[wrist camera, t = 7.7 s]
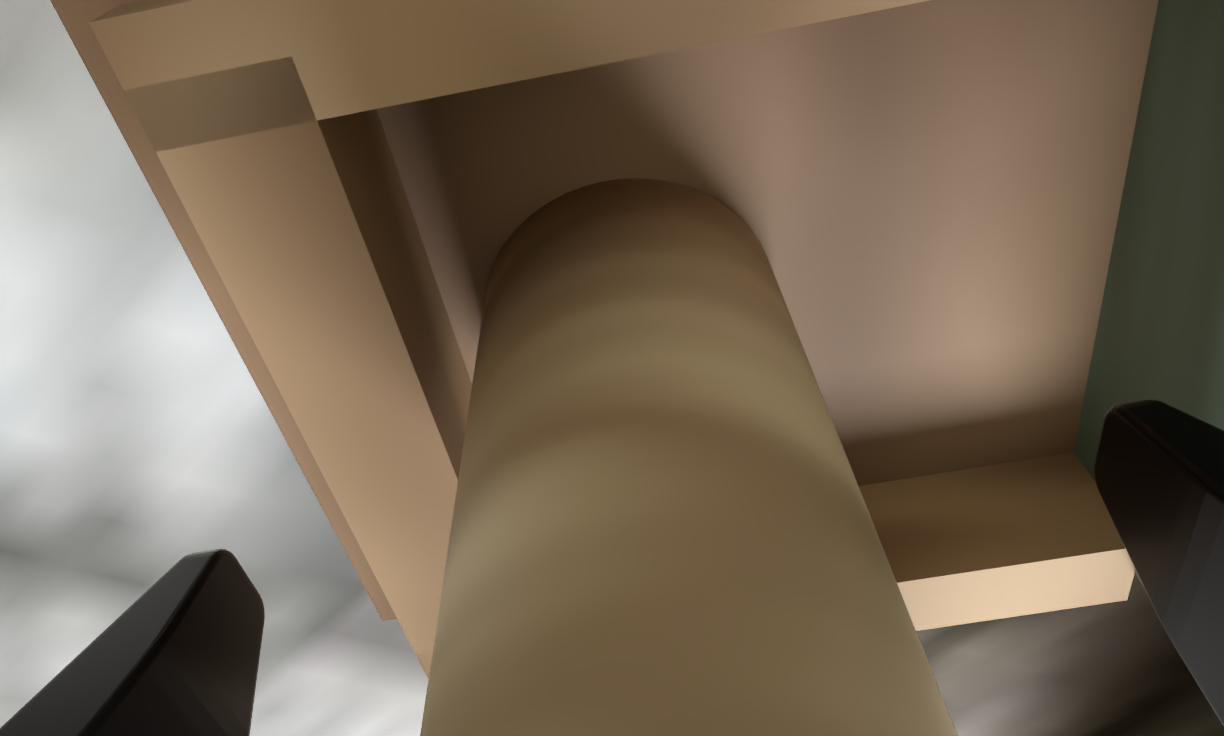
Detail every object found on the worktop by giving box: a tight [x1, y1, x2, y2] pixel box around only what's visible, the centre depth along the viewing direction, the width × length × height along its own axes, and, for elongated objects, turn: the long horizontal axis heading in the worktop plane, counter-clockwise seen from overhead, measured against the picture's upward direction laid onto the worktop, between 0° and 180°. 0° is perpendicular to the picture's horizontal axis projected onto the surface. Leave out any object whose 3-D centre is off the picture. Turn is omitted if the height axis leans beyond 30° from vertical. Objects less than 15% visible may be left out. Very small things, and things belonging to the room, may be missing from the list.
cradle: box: [51, 0, 1224, 679], centre depth 10 cm, size 16×11×6 cm
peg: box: [420, 179, 958, 736], centre depth 8 cm, size 4×4×10 cm
